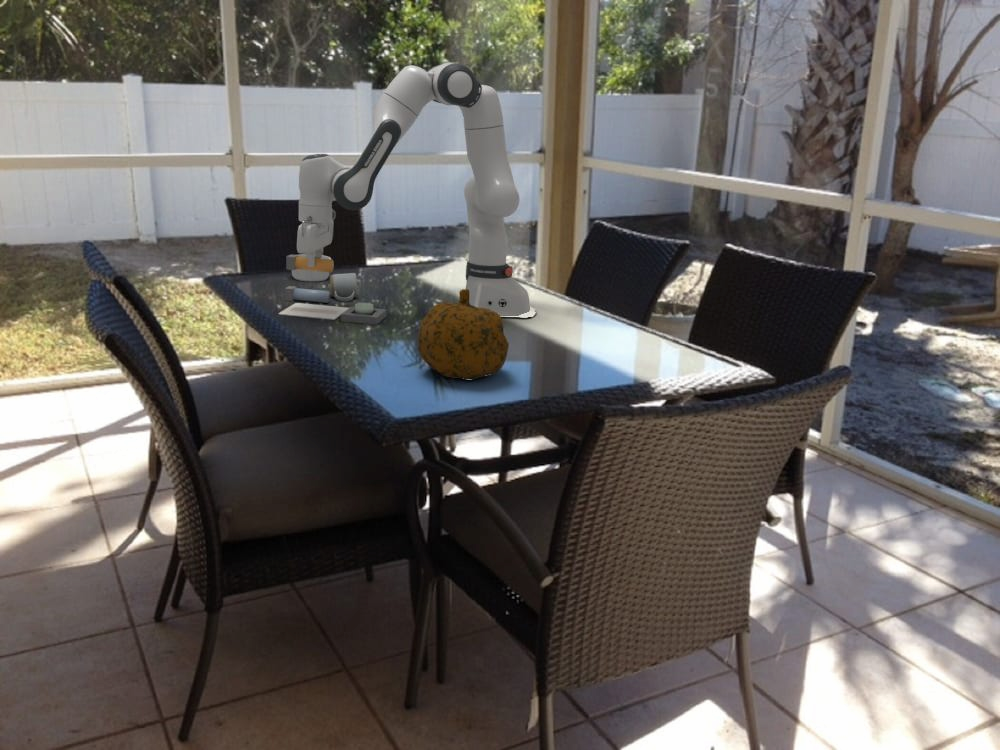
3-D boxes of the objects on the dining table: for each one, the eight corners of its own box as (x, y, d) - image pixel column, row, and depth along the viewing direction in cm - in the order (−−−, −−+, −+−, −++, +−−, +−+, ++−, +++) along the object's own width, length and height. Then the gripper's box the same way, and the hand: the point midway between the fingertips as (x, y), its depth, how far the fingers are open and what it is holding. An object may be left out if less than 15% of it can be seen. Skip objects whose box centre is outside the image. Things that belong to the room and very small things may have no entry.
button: (375, 311, 262) (375, 303, 261) (370, 315, 257) (370, 307, 257) (357, 309, 263) (357, 302, 262) (352, 313, 258) (352, 305, 257)
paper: (349, 308, 271) (349, 307, 271) (334, 319, 257) (334, 318, 257) (295, 303, 273) (295, 302, 272) (278, 314, 259) (278, 313, 259)
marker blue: (329, 301, 278) (329, 289, 277) (326, 304, 275) (326, 292, 274) (289, 297, 280) (289, 286, 278) (284, 300, 276) (284, 288, 275)
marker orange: (333, 271, 263) (333, 258, 262) (329, 273, 259) (330, 260, 258) (290, 267, 264) (290, 254, 263) (286, 269, 261) (286, 256, 260)
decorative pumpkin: (436, 387, 203) (441, 294, 199) (406, 368, 221) (410, 282, 217) (521, 385, 211) (528, 295, 207) (485, 366, 229) (490, 284, 226)
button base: (386, 316, 265) (386, 309, 264) (376, 324, 255) (377, 317, 255) (351, 313, 266) (351, 306, 265) (340, 321, 256) (341, 314, 256)
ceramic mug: (329, 294, 288) (329, 270, 285) (355, 294, 289) (355, 270, 287) (331, 302, 278) (332, 277, 276) (358, 302, 280) (359, 278, 278)
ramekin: (298, 273, 316) (298, 252, 314) (336, 276, 314) (336, 255, 312) (284, 280, 303) (283, 259, 301) (323, 284, 302) (323, 262, 300)
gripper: (314, 220, 247) (313, 272, 251) (337, 211, 266) (336, 260, 270) (290, 218, 248) (290, 270, 252) (315, 209, 267) (315, 258, 271)
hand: (314, 265), depth 261 cm, fingers closed on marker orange, 3 cm apart
